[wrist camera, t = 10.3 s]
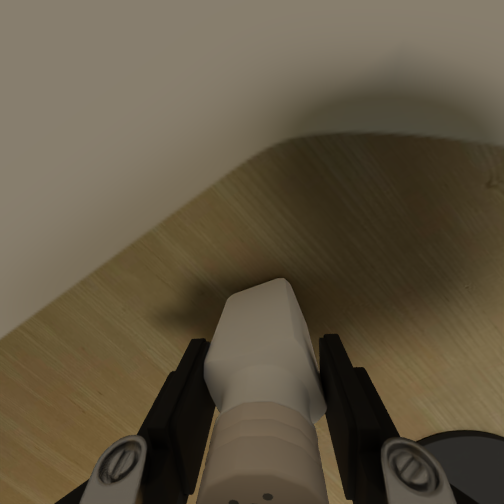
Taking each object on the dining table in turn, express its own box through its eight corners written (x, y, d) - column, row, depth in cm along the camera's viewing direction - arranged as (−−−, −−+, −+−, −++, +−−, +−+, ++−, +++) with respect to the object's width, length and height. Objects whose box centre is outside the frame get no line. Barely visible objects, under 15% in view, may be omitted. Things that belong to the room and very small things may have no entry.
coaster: (390, 430, 16) (393, 436, 16) (547, 430, 15) (554, 437, 15) (382, 520, 19) (384, 527, 19) (515, 526, 18) (521, 533, 18)
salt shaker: (250, 344, 15) (221, 578, 6) (225, 293, 14) (148, 479, 5) (308, 326, 15) (371, 559, 6) (286, 271, 14) (317, 441, 5)
